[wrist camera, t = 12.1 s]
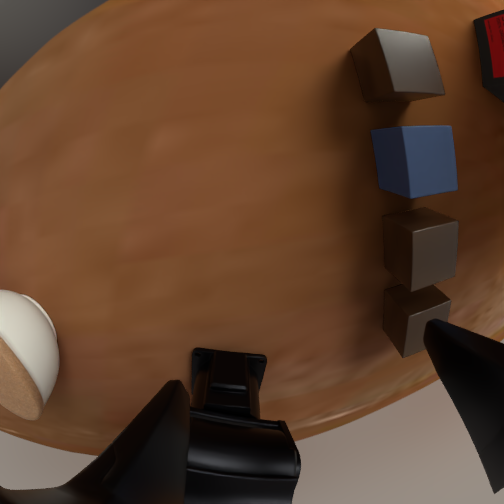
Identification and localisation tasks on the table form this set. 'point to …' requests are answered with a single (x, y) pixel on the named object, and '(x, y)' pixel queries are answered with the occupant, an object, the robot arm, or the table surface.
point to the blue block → (415, 160)
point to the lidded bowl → (26, 355)
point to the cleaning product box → (492, 51)
